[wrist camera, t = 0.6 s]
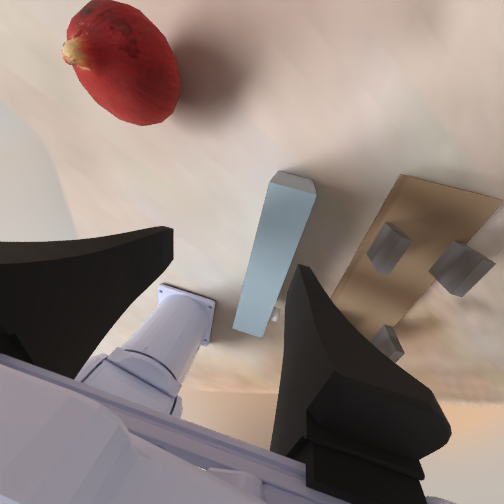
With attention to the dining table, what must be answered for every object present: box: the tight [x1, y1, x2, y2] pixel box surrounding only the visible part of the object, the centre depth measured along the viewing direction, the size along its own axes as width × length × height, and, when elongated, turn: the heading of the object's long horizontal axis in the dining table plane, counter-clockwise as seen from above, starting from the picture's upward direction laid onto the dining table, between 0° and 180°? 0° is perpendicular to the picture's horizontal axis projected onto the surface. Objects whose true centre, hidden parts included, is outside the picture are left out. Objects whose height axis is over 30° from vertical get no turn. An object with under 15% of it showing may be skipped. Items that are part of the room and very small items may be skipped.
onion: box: [62, 0, 181, 126], centre depth 13 cm, size 6×6×8 cm
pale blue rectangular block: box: [232, 171, 317, 338], centre depth 18 cm, size 14×4×6 cm, turn 167°
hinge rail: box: [330, 174, 503, 363], centre depth 18 cm, size 20×6×4 cm, turn 168°
